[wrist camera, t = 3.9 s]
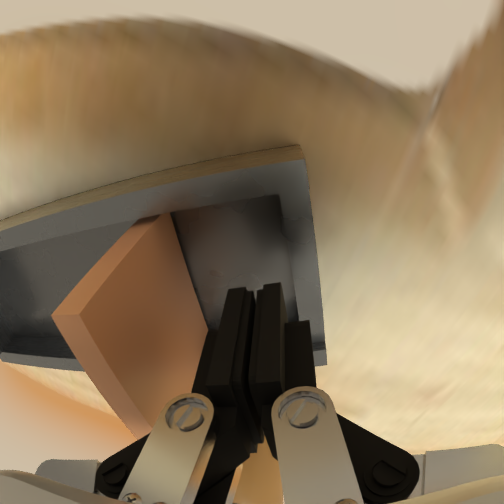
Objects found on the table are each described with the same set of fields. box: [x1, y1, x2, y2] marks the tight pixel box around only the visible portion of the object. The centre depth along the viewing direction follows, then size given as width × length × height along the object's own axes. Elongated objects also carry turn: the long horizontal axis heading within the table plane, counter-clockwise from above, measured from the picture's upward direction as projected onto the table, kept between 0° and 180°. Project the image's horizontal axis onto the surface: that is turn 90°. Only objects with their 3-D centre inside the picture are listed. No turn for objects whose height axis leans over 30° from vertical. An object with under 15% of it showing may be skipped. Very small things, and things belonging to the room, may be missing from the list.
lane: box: [0, 145, 327, 372], centre depth 14 cm, size 22×9×5 cm, turn 101°
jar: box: [232, 435, 283, 504], centre depth 15 cm, size 5×5×10 cm
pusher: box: [51, 212, 208, 440], centre depth 11 cm, size 1×6×7 cm, turn 11°
